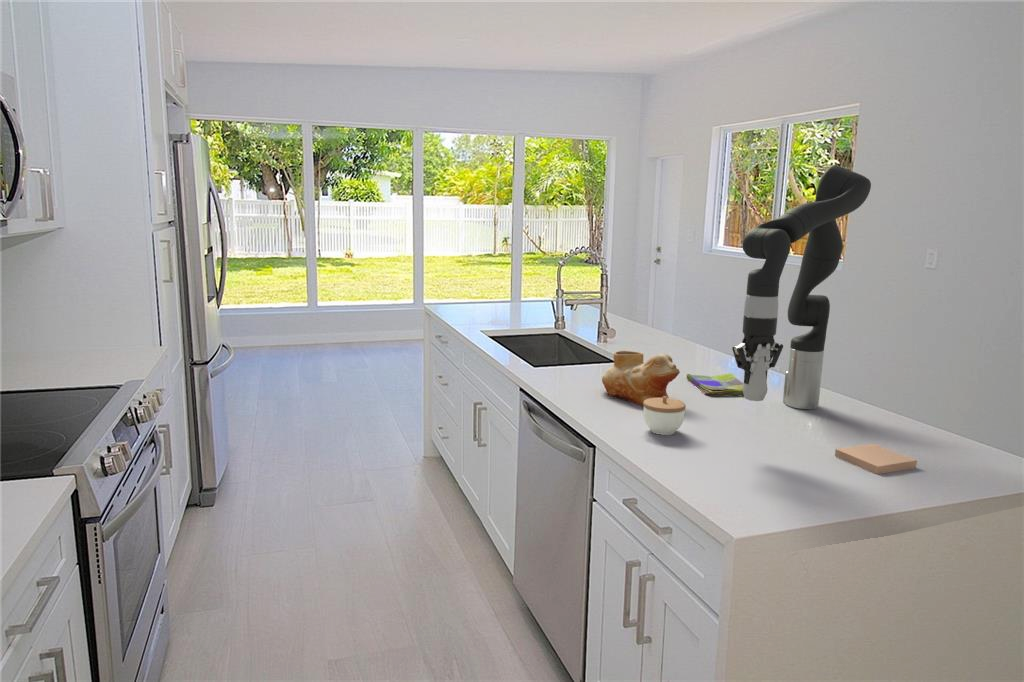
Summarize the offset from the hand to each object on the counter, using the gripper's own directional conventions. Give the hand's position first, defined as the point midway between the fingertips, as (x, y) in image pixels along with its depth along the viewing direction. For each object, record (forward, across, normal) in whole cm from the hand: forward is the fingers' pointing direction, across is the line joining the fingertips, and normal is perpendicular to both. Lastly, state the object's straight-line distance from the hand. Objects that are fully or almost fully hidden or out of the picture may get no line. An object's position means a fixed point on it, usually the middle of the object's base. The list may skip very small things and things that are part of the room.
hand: (754, 385), depth 170 cm
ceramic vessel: (+16, 0, -50) cm, 52 cm away
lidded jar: (+16, +12, -19) cm, 28 cm away
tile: (+15, -22, +11) cm, 29 cm away
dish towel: (+17, -33, -52) cm, 64 cm away
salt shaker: (+3, 0, 0) cm, 3 cm away
